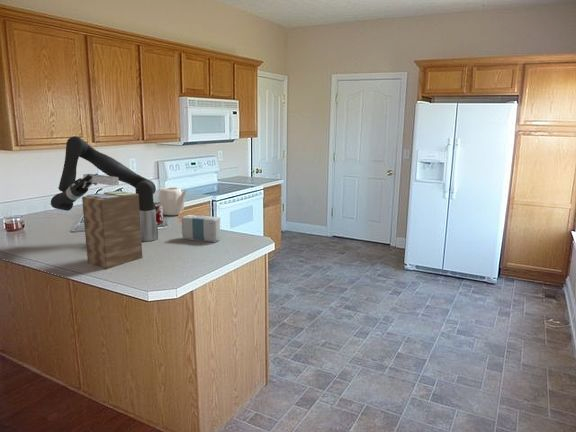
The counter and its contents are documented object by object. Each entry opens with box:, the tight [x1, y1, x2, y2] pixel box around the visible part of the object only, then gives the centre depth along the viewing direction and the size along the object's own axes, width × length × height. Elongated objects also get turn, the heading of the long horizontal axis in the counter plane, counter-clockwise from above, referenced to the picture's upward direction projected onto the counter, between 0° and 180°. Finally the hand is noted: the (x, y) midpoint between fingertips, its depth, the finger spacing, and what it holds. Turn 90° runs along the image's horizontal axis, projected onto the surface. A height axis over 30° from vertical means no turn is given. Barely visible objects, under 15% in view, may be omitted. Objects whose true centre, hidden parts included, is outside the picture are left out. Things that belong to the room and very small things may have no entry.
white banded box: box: [181, 205, 221, 242], centre depth 249 cm, size 21×8×20 cm, turn 73°
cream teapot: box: [158, 186, 188, 216], centre depth 314 cm, size 16×27×19 cm, turn 59°
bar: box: [82, 173, 120, 186], centre depth 214 cm, size 22×4×4 cm, turn 58°
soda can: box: [155, 203, 164, 225], centre depth 287 cm, size 7×7×12 cm
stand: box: [81, 190, 143, 270], centre depth 209 cm, size 14×20×32 cm
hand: (93, 175), depth 217 cm, fingers closed on bar, 3 cm apart
